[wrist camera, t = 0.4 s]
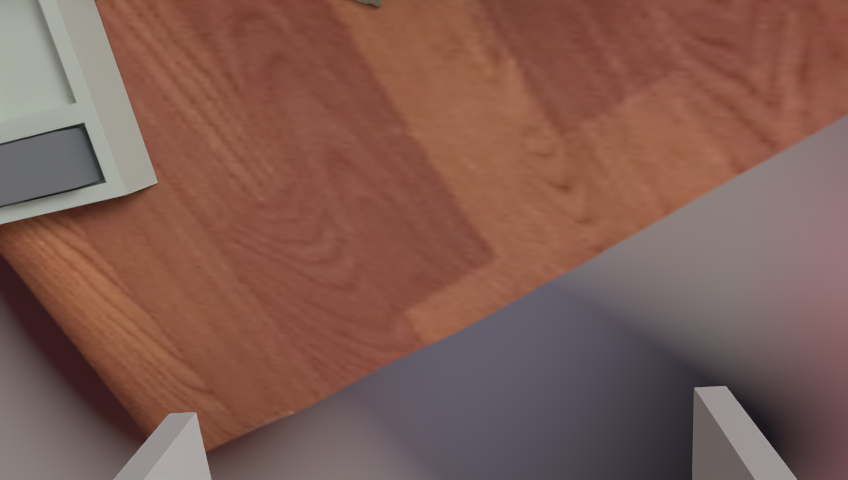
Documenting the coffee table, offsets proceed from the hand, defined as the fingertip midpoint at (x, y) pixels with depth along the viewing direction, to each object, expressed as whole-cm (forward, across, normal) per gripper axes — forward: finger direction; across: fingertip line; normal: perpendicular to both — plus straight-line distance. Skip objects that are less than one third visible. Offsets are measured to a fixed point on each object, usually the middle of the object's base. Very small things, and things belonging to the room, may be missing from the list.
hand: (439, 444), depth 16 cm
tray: (+26, -27, +14) cm, 40 cm away
